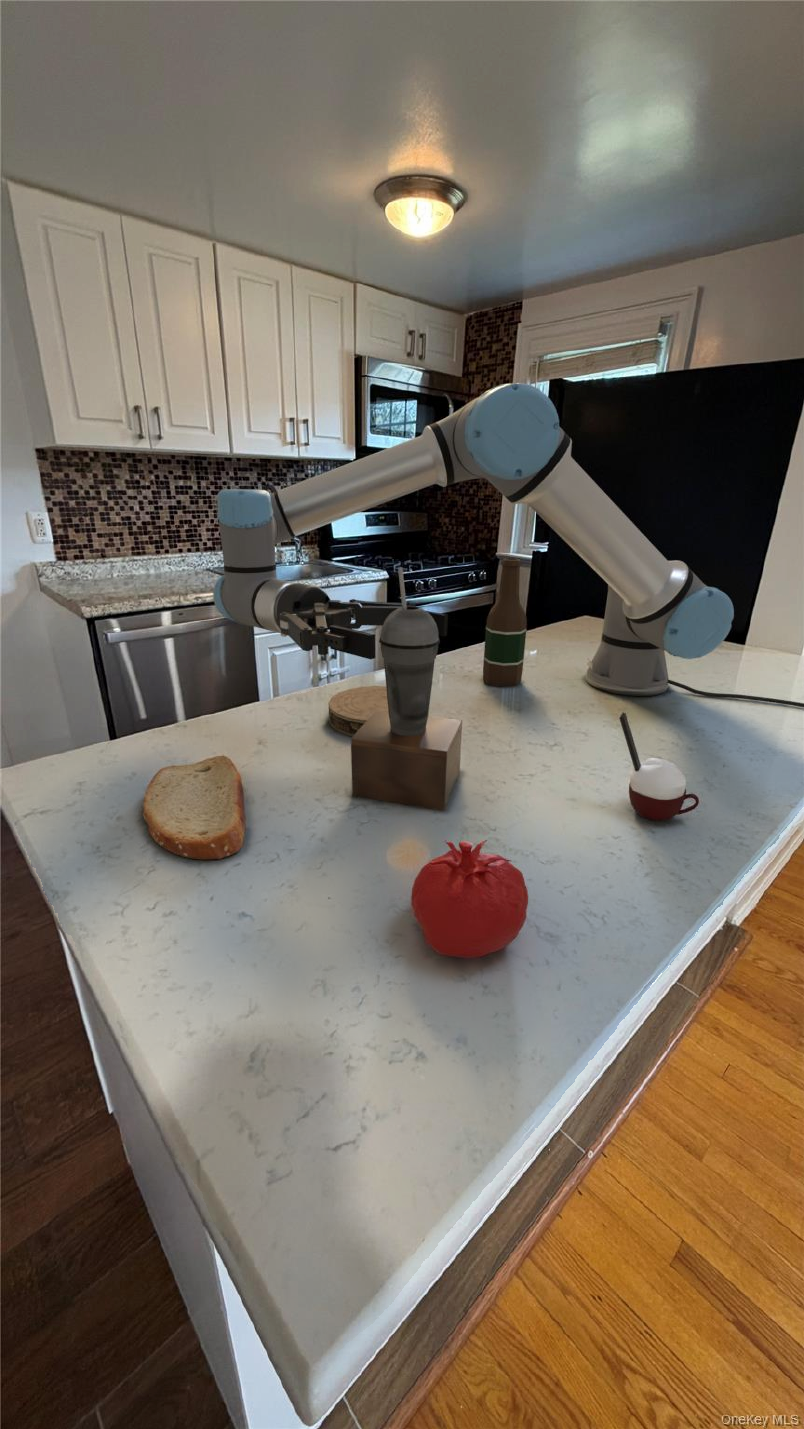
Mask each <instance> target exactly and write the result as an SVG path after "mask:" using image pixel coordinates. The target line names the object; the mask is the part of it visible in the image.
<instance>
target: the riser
mask: <svg viewBox="0 0 804 1429" xmlns="http://www.w3.org/2000/svg"><path fill="white" fill-rule="evenodd" d="M462 734H463V719H458V718H450V717H442V716H433V715H428V719H427V724H426V731H425V732H424V733H422V734H420V735H416V736H402V735H398V734H395V733H394V732H392V731H391V724H390V719H389V711H382V710H376V711H375V712H374V713H373V714H372V715H371V717H370V718H369V719H368V720H367V721H366V722H365V723H364V724H363V726H362V727H361V728H360V729H359V730H358V731H357V732H356V734H355V735H354V736H351V738H350V761H351V764H350V765H351V766H350V767H351V795H352V797H357V798H365V799H370V800H371V799H372V800H377V801H383V802H390V803H396V804H403V805H409V806H415V807H421V808H427V809H432V810H433V809H434V810H439V811H445V810H446V807H447V805H448V802H449V801H450V798H451V795H452V792H453V790H454V788H455V785H456V783H457V780H458V778H459V776H460V772H461V771H460V770H461V755H462V754H461V751H462Z"/></svg>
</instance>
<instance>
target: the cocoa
mask: <svg viewBox="0 0 804 1429" xmlns="http://www.w3.org/2000/svg"><path fill="white" fill-rule="evenodd" d="M618 719H619V722H620V725H621V729H622V732H623V736H624V739H625V742H626V745H627V748H628V752H629V755H630V759H631V762H632V765H633V769H632V771H630V774H629V784H628V796H629V797H628V798H629V801H630V805H631V806H632V808H633V809H634V810H635V812H636V813H637V814H638V815H640V816H641V817H642V818H644V819H647V820H651V821H656V822H657V821H658V822H662V821H667V820H671V819H672V818H674V817H676V816H679V815H684V814H688V813H690V812H691V811H693V810H695V809H696V808H697V807H699V804H700V799H699V797H698V795H696V794H695V793H687V789H686V786H687V785H686V784H687V779H686V778H685V776H684V775H683V773H682V772H681V770H680V769H679V767H678V766H677V765H676V763H672V762H671V761H669V760H667V759H663V758H657V757H649V758H646V759H644V760H642V761H640V758H639V754H638V750H637V747H636V745H635V740H634V737H633V733H632V730H631V727H630V724H629V720H628V716H627V713H626V712H623V711H622V713H621V714H620V715H619V718H618ZM687 799H692V800H694V801H695V802H694V803H693V804H692V805H691V806H687V807H685V808H684V809H682V807H683V805H684V803H685V801H686V800H687Z"/></svg>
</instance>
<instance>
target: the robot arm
mask: <svg viewBox="0 0 804 1429" xmlns="http://www.w3.org/2000/svg"><path fill="white" fill-rule="evenodd" d="M572 444H573V439H572V438H571V437H570V436H569V435H568V434H567V433H566V432H565V431H564V429H563V428H561V426H560V419H559V414H558V412H557V409H556V407H555V405H554V403H553V401H552V400H551V399H550V397H548V396H547V394H546V393H544V392H543V391H542V390H541V389H539V388H537V387H535V386H533V385H530V384H528V383H522V382H514V383H513V382H511V383H510V382H509V383H502V384H499V385H497V386H493V387H492V388H490V389H488V390H486V391H485V392H484V393H482V394H481V395H480V396H479V397H476V398H475V399H472V400H470V401H469V402H468V403H466V404H465V405H464V406H461V408H459V409H458V410H456V411H455V412H453V413H451V414H450V415H448V416H446V417H445V418H443V419H440V420H439V421H436V422H434V423H430V424H428V425H426V426H425V427H424V429H423V431H422V433H421V435H419V436H416V437H414V438H411V439H409V440H406V441H403V442H400V443H398V444H395V445H393V446H390V447H388V448H386V449H383V450H379V451H378V452H375V453H372V454H369V455H367V456H364V457H362V458H359V459H357V460H353V461H352V462H349V463H347V464H343V465H341V466H339V467H336V468H333V469H331V470H328V471H325V472H323V473H320V474H318V475H315V476H312V477H310V478H307V479H305V480H302V481H299V482H297V483H294V484H291V485H288V486H287V487H284V488H282V489H279V490H277V491H274V492H271V493H269V492H268V491H267V490H266V489H240V488H239V489H236V488H235V489H233V488H231V489H221V490H220V491H219V492H218V493H217V495H216V496H217V497H216V499H217V500H216V501H217V502H216V503H217V513H216V517H217V519H218V525H219V533H220V541H221V542H220V543H221V551H222V560H223V575H222V576H220V577H219V578H218V579H217V582H216V583H215V587H214V590H213V592H212V593H213V594H212V599H213V603H214V605H215V606H214V607H215V608H216V609H217V611H218V613H220V615H222V616H223V617H224V618H226V619H228V620H231V621H233V622H235V623H238V624H239V625H244V626H250V627H254V628H259V629H262V630H266V631H270V632H274V633H278V634H280V636H281V637H283V638H286V637H289V638H290V639H291V640H292V641H293V642H294V643H295V644H296V645H297V646H298V647H299V648H300V649H301V650H302V651H304V652H310V651H313V648H314V647H317V655H320V656H326V655H328V654H329V649H330V650H332V651H333V650H334V651H337V652H341V653H345V654H348V655H352V656H355V657H360V658H364V659H367V660H374V659H376V634H375V633H371V632H366V631H362V630H358V629H360V628H361V627H362V626H378V627H383V624H384V622H385V620H386V618H387V617H388V616H389V614H391V613H392V612H393V611H394V610H396V609H398V608H400V607H402V602H387V601H370V600H360V599H355V598H352V599H348V600H349V601H342V600H339V599H331V598H330V597H329V595H328V594H327V592H326V591H325V590H324V589H322V588H321V587H320V586H316V585H311V584H306V583H300V582H297V581H292V580H285V579H279V578H278V577H277V563H276V562H277V561H276V546H275V545H278V544H280V543H283V542H285V541H288V540H290V539H293V538H294V537H297V536H300V535H303V534H305V533H308V532H310V531H313V530H316V529H318V528H321V527H324V526H326V525H329V524H331V523H335V522H337V521H339V520H342V519H346V518H348V517H350V516H353V515H355V514H358V513H361V512H364V511H367V510H369V509H372V508H374V507H377V506H379V505H382V504H385V503H387V502H390V501H393V500H396V499H398V498H401V497H404V496H406V495H409V494H412V493H414V492H416V491H419V490H422V489H425V488H427V487H430V486H432V485H433V486H434V485H438V486H441V487H443V488H445V487H448V486H450V485H453V484H456V483H460V482H464V481H469V480H476V479H486V480H487V481H488V482H489V484H491V485H492V487H494V488H495V489H496V490H497V491H498V492H499V493H500V494H501V495H502V496H504V498H505V499H507V501H508V502H510V504H512V505H521V504H527V505H528V507H530V508H531V509H532V510H533V511H534V512H535V513H536V514H537V515H538V516H539V517H540V518H541V519H542V520H543V521H544V522H545V523H546V524H547V525H548V526H549V527H550V528H551V529H552V530H553V531H554V532H555V533H556V534H557V535H558V536H559V537H560V538H561V539H562V540H563V541H564V542H565V543H566V544H567V545H568V546H569V547H570V548H571V549H572V550H573V551H574V552H575V553H576V554H577V555H578V556H579V557H580V558H581V559H582V560H583V561H584V562H585V563H586V564H587V565H588V566H589V567H590V568H591V569H592V570H593V571H594V572H595V573H596V574H597V575H598V576H599V577H600V578H601V579H602V580H603V581H604V582H605V583H606V584H607V597H606V603H605V611H604V618H603V625H602V633H601V639H600V643H599V645H598V648H597V650H596V652H595V654H594V655H593V657H592V659H591V660H590V659H589V658H587V661H586V665H587V666H588V668H587V670H586V676H585V680H586V682H587V683H588V684H589V685H590V686H593V687H594V688H596V689H598V690H601V691H604V692H608V693H612V694H617V695H624V696H633V697H648V696H649V697H650V696H656V695H661V694H663V693H665V692H666V691H667V690H668V685H672V686H674V687H678V688H681V689H683V690H685V691H688V692H690V693H692V694H696V695H700V696H704V697H713V698H726V699H728V698H729V699H742V700H750V701H757V702H766V703H774V704H781V705H787V706H793V707H799V708H804V702H799V701H793V700H786V699H779V698H772V697H764V696H757V695H755V696H754V695H746V694H739V693H738V694H737V693H720V692H709V691H704V690H700V689H699V690H698V689H695V688H693V687H690V686H688V685H686V684H684V683H680V682H678V681H674V680H672V679H669V673H668V666H667V660H666V652H667V653H668V654H669V655H670V656H673V657H677V658H678V657H679V658H681V659H686V660H693V659H698V658H699V659H700V658H702V657H704V656H707V655H709V654H711V653H712V652H713V651H715V650H716V649H717V648H718V647H719V646H720V645H722V644H723V642H724V641H725V639H726V638H727V636H728V635H729V633H730V631H731V629H732V626H733V625H732V622H733V620H734V618H735V614H734V613H735V609H734V604H733V602H732V600H731V598H730V597H729V596H728V594H726V593H725V592H723V591H722V590H720V589H719V588H717V587H714V586H708V585H706V584H705V583H703V581H702V580H701V579H700V578H699V577H698V576H697V574H695V573H694V572H693V571H692V570H691V568H690V567H689V566H688V565H687V564H686V563H685V562H684V561H682V560H676V559H675V560H668V559H667V558H666V557H665V556H664V555H663V553H662V552H660V551H659V550H658V549H657V547H656V546H655V545H654V544H652V542H651V541H650V540H649V539H648V538H647V537H646V536H645V535H644V533H642V531H641V530H640V529H639V528H638V527H637V526H636V525H635V524H634V522H633V521H632V520H630V518H629V517H628V516H627V515H626V514H625V513H624V512H623V511H622V509H621V508H620V507H619V506H618V505H617V504H616V503H615V502H614V501H613V500H612V499H611V497H609V496H608V495H607V494H606V493H605V492H604V490H603V489H602V488H601V487H600V486H599V485H598V484H597V483H596V482H595V481H594V479H592V477H591V476H590V475H589V474H588V473H587V472H586V471H585V469H583V468H582V467H581V466H580V465H579V463H578V462H576V460H575V459H574V458H573V456H572V448H573V446H572ZM277 578H278V579H277ZM406 606H416V607H417V604H416V603H412V601H411V600H406ZM425 611H426V612H428V613H429V614H430V615H431V616H432V618H433V619H434V621H435V623H436V625H437V629H438V637H443V638H444V637H446V636H448V621H449V619H448V618H449V614H447V613H441V612H437V611H436V612H435V611H430V610H425ZM352 619H353V620H354V622H352Z"/></svg>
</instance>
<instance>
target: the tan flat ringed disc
mask: <svg viewBox="0 0 804 1429" xmlns="http://www.w3.org/2000/svg"><path fill="white" fill-rule="evenodd" d="M327 705H328V721H329V724H330V726H331V727H333V729H334V730H336V731H337V732H339V733H342V734H345V735H347V736H351V737H353V736H354V735H355V734H356V732H357V731H358V730H359V729H360V728H361V727H362V726H363V724H364V723H365V722H366V721H367V720H368V719H369V718H370V717H371V715H372V714H373V713H374V712H375V711H376V710H382V711H388V700H387V689H386V685H385V686H382V685H371V686H359V687H355V688H354V687H353V688H349V689H346V690H343V691H340V692H337V693H336V694H335V695H333V696H331V697H330V699H329V701H328V704H327Z"/></svg>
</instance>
